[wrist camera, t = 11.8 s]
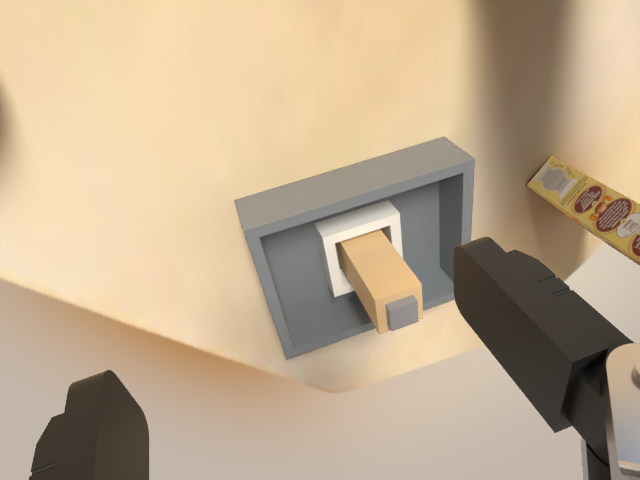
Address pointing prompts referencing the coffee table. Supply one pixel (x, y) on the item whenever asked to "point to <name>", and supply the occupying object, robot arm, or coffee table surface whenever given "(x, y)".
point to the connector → (381, 280)
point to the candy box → (591, 205)
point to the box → (353, 220)
